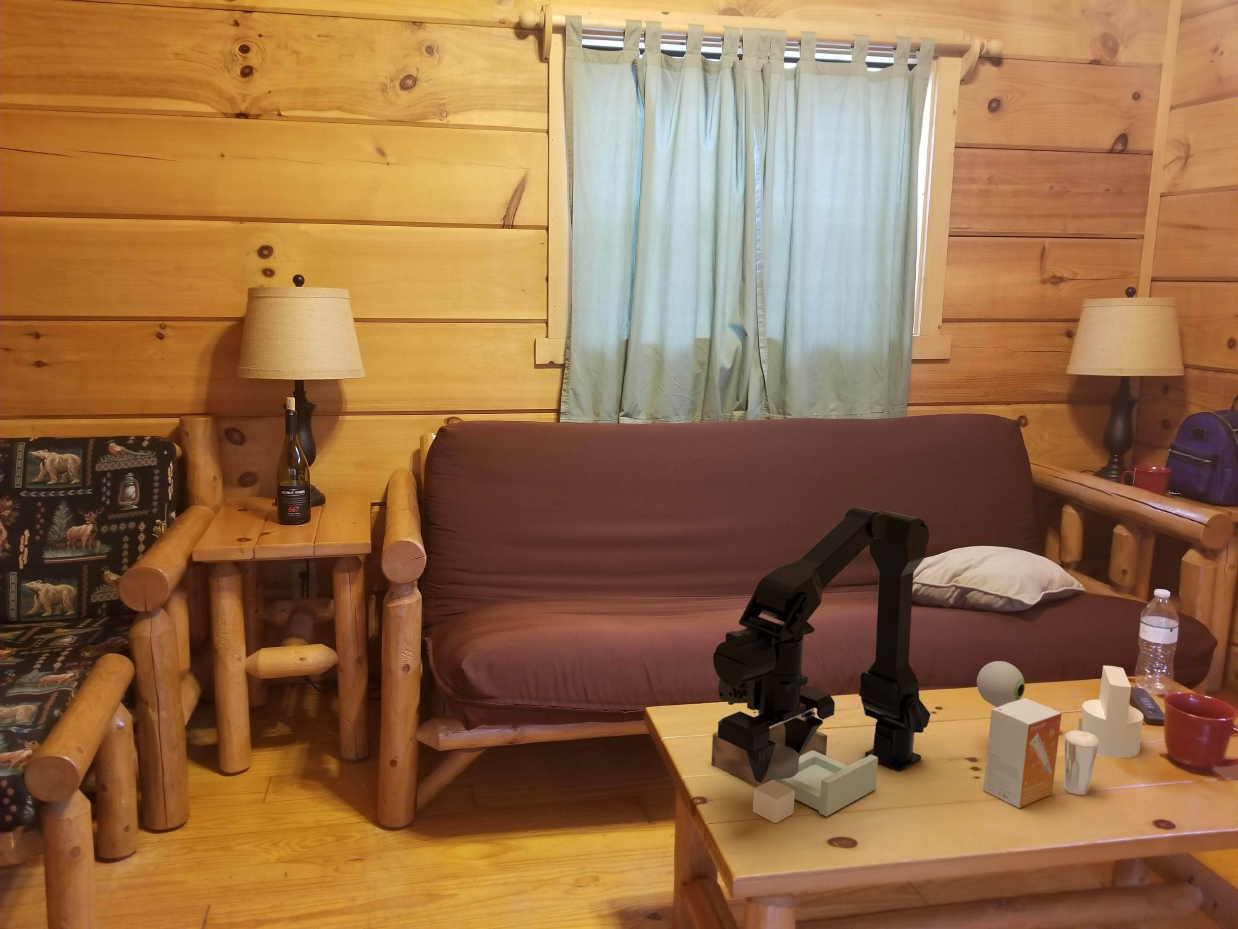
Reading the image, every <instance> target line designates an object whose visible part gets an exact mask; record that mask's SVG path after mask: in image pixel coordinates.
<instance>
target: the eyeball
mask: <svg viewBox="0 0 1238 929" xmlns="http://www.w3.org/2000/svg"><path fill="white" fill-rule="evenodd" d="M976 687H977V690H978V693H979V694H980V696H981V697H982V699H983V700H984V701H986V702H987V703H988V704H989V705H992V706H995V708H997V707H1000V706H1002V705H1005V704H1007V703H1010V702H1014V701H1017V700H1021V699H1022V698H1023V695H1024V692H1025V688H1026V685H1025V678H1024V676H1023V674H1022V672H1021V671H1020V670H1019V668H1017V667H1016V666H1014V665H1013V664H1011V663H1009V662H1008V661H1004V660H1003V661H1001V660H999V661H998V660H997V661H996V660H995V661H992V662H988V663H986V665H984V666H983V667H981V669H980V671H979V672H978V674H977V677H976Z"/></svg>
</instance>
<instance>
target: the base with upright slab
mask: <svg viewBox="0 0 1238 929" xmlns="http://www.w3.org/2000/svg"><path fill="white" fill-rule="evenodd" d="M1131 690H1132V686H1131V683H1130V681H1129V679H1128V676H1127V674H1126V671H1125V670H1124V668H1123V667H1119V666H1114V665H1103V666H1102V674H1101V679H1100V690H1099V696H1098V699H1090V700H1086V701H1083V703H1082V707H1081V715H1080V716H1081V717H1080V719H1083V721H1082V731H1084V732H1089V733H1091V734H1094V735H1095V736H1096V737H1097V738H1098V741H1099V745H1098V749H1097V753H1096V754H1098V755H1101V756H1106V757H1110V758H1114V759H1115V758H1117V759H1128V758H1130V759H1131V758H1134V757H1137V756H1138V755H1139V753H1140V750H1141V748H1140V747H1141V741H1142V732H1143V724H1144V714H1143V713H1142V712H1141V711H1140V710H1139V709H1137V708H1135V707H1133V706H1131V705H1130V700H1131Z"/></svg>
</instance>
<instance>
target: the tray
mask: <svg viewBox="0 0 1238 929" xmlns="http://www.w3.org/2000/svg"><path fill="white" fill-rule="evenodd" d="M878 763H879V762H878V757H876V756H874V755H869V756H867V757H865V756H864V757H863V758H862V759H859V760H857V761H855V762H853V763H852V764H850V765H847V764H846V763H843V762H841V761H838V760H836V759H834V758H831V757H829V756H827V755H826V756H825V755H823V754H821V753H818V752H816V751H814V750H812V751H809V752H807V753H805V754H803V755H801V756H800V757H799V767H798V773H797V774H796V775H795V776H793V777H791V778H787V779H774V781H776V782H778V783H780V784H782V785H784V786H787V787H789V788H791V789H793V790H795V797H794V800H796V801H798V802H801V803H802V804H805V805H807V806H808V807H811V808H813V809H815V810H816V811H818V813H819V814H821V815H822V816H825V817H829V816H830V815H832V814H833V813H835V812H837V811H839V810H841V809H843V808H844V807H847V805H850V804H852V803H853V802H855V801H857V800H859V799H860V798H863V797H864V796H866V795H867V794H870V793H871V792H873V791H875V790H877V779H878V778H877V774H878Z"/></svg>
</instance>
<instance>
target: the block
mask: <svg viewBox="0 0 1238 929" xmlns="http://www.w3.org/2000/svg"><path fill="white" fill-rule="evenodd" d="M794 797H795V790H793V789H791V788H789V787H787V786H784V785H782V784H780V783H778V782H776V781H774V780H771V781H769V782H767V783H765V784H763V785H760V786H758V787H756V786H755V787H754V788H753V800H752V801H753V805H752V813H755V814H756V815H758V816H760V817H762V818H764V819H766V820H768V821H770V822H772V823H774V824H777V823H779V822H781V821H782V820H784V819H786V818H789V817H790V816H792V815H793V814H794V812H795V811H794V808H795V799H794Z"/></svg>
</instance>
